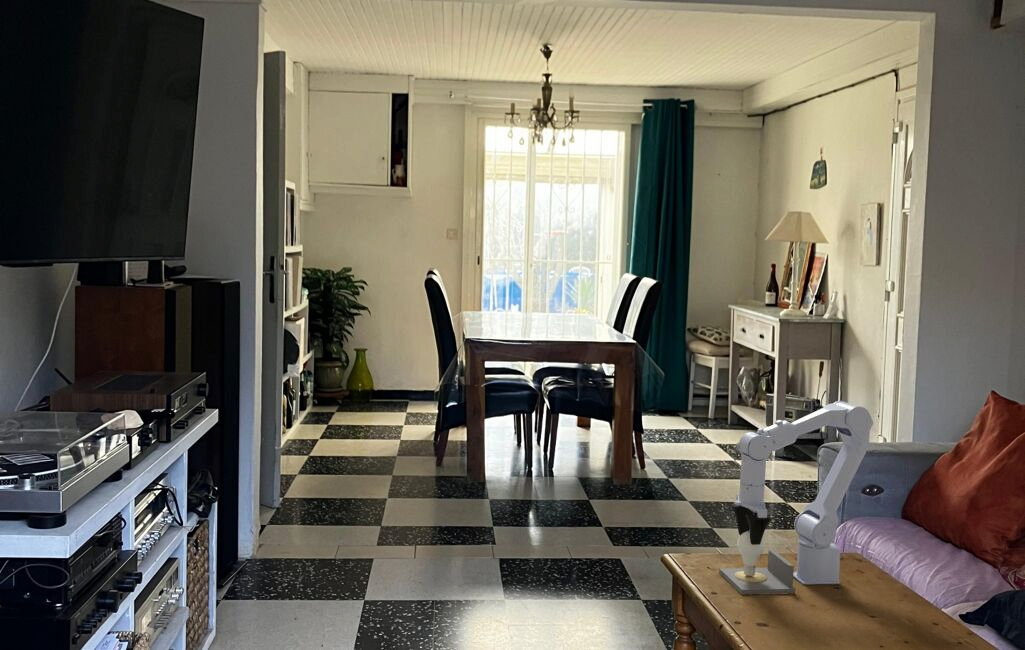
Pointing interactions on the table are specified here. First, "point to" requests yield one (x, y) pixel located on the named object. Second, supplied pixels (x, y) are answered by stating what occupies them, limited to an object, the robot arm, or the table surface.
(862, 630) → the table surface
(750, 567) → the lightbulb
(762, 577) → the lamp base
